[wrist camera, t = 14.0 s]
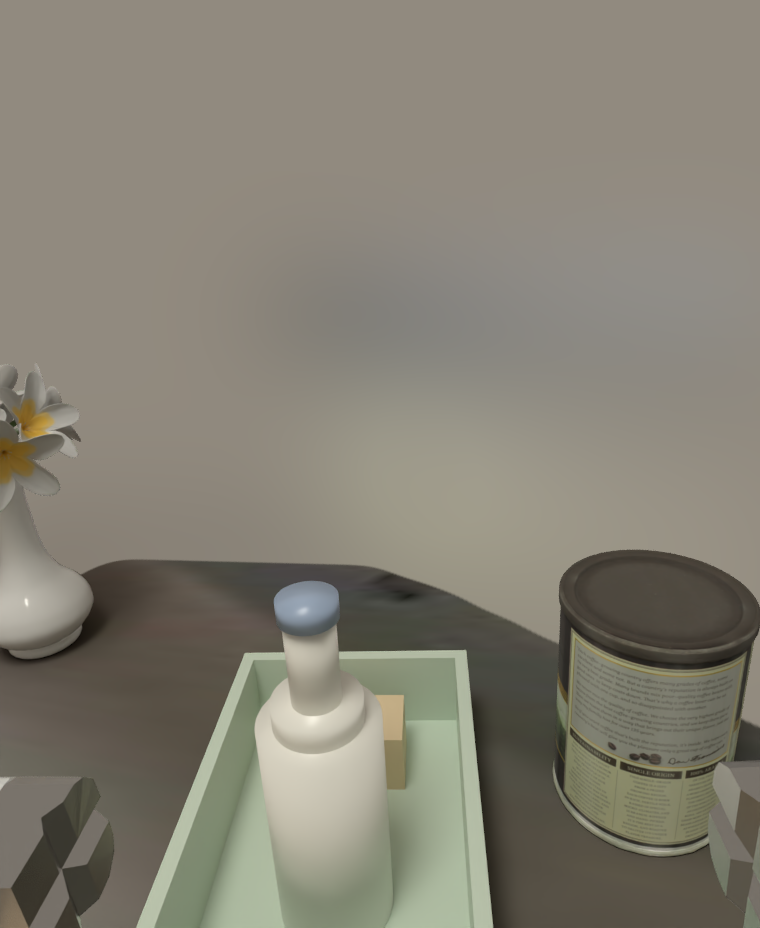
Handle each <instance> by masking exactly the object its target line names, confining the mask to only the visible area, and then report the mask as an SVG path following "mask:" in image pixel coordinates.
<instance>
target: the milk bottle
mask: <svg viewBox="0 0 760 928" xmlns="http://www.w3.org/2000/svg"><path fill="white" fill-rule="evenodd" d="M274 607H275V615H276V623H277V626H278V627H279V629H280V630H281V631H282V634H283V642H284V651H285V659H286V667H287V675H288V678H286V679H285V680H283V681H282V682H281V683H280V684H279V685H278V686H277V687H276V688H275V689H274V691H273V693H272V694H271V697H270V699H269V700H268V701H267V702H266V703H265V704H264V705H263V706H262V708H261V710H260V711H259V713H258V715H257V718H256V721H255V729H254V731H255V738H256V745H257V752H258V759H259V765H260V772H261V779H262V786H263V792H264V799H265V806H266V813H267V819H268V826H269V833H270V840H271V846H272V853H273V860H274V867H275V873H276V880H277V887H278V894H279V900H280V907H281V914H282V919H283V923H284V926H285V928H384V927H385V925H386V923H387V921H388V919H389V917H390V914H391V910H392V906H393V881H392V864H391V848H390V832H389V815H388V799H387V783H386V766H385V750H384V734H383V717H382V709H381V706H380V703H379V701H378V700H377V698H376V696H375V695H374V694H373V693H372V692H371V691H370V690H369V689H367V688H366V687H364V686H363V685H361V684H360V682H359V681H358V680H357V679H356V678H355V677H354V676H352V675H351V674H349V673H347V672H345V671H342V670H340V662H339V650H338V639H337V627H336V623H337V622H338V620H339V618H340V609H339V597H338V592H337V590H336V589H335V588H334V587H333V586H332V585H330V584H327V583H324V582H319V581H305V582H299V583H295V584H292V585H289V586H287V587H285V588H284V589H282V590H281V591H279V592H278V593H277V595H276V596H275V599H274Z"/></svg>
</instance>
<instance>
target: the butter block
mask: <svg viewBox="0 0 760 928" xmlns="http://www.w3.org/2000/svg"><path fill="white" fill-rule="evenodd" d="M375 696H376V698H377V700H378V701H379V703H380V706H381V709H382V717H383V734H384V750H385V766H386V783H387V789H392V790H405V780H406V746H407V739H406V722H405V705H404V695H375Z"/></svg>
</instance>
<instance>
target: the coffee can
mask: <svg viewBox="0 0 760 928" xmlns="http://www.w3.org/2000/svg"><path fill="white" fill-rule="evenodd" d="M559 601H560V605H561V614H560V640H559V663H558V688H557V710H556V733H555V759H554V763H553V777H554V783H555V786H556V790H557V792H558V795H559V797H560V799H561V801H562V803H563V804H564V806H565V807H566V809H567V810H568V811H569V812H570V813H571V815H572V816H573V817H574V818H575V819H576V820H577V821H578V822H579V823H580V824H581V825H582V826H583V827H585V828H586V829H587V830H589V831H590V832H591V833H593V834H594V835H596V836H597V837H599V838H601V839H602V840H604V841H606V842H608V843H610V844H612V845H614V846H616V847H618V848H621V849H623V850H627V851H632V852H635V853H638V854H642V855H648V856H662V857H666V856H678V855H683V854H687V853H691V852H694V851H696V850H698V849H700V848H702V847H704V846H705V845H707V844H708V843H709V837H708V821H709V811H710V810H711V809H713V808H714V807H715V806H716V805H717V804H718V803H719V802H720V800H719V798H718V796H717V794H716V792H715V790H714V787H713V785H712V784H713V776H714V769H715V768H716V766H717V765H718V763H719V762H730V761H734V755H735V749H736V744H737V738H738V733H739V727H740V722H741V716H742V709H743V703H744V697H745V691H746V686H747V680H748V674H749V669H750V663H751V657H752V651H753V645H754V640H755V638H756V636H757V635H758V632H759V628H760V607H759V604H758V602H757V600H756V598H755V597H754V595H753V594H752V593H751V592H750V591H749V590H748V589H747V588H746V587H745V586H744V585H743V584H742V583H741V582H739V581H738V580H737V579H735V578H734V577H732V576H730V575H729V574H727V573H725V572H723V571H722V570H719V569H718V568H716V567H714V566H711V565H709V564H707V563H704V562H701V561H698V560H695V559H692V558H688V557H685V556H680V555H676V554H671V553H665V552H658V551H648V550H618V551H611V552H604V553H599V554H597V555H592V556H589V557H587V558H584V559H582V560H580V561H578V562H576V563H575V564H573V565H572V566H571V567H570V568H569V569H568V570H567V571H566V572H565V573H564V574H563V576H562V579H561V581H560V585H559Z"/></svg>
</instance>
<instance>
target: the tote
mask: <svg viewBox="0 0 760 928" xmlns="http://www.w3.org/2000/svg"><path fill="white" fill-rule="evenodd" d="M339 662H340V670H342V671H345V672H347V673H349V674H351V675H352V676H354V677H355V678H356V679H357V680H358V681H359V682H360V684H361V685H363V686H364V687H366V688H367V689H369V690H370V691H371V692H372V693H373V694H374V695H404V705H405V722H406V739H407V746H406V780H405V790H392V789H387V799H388V815H389V832H390V848H391V864H392V881H393V906H392V910H391V914H390V917H389V919H388V921H387V923H386V925H385V927H384V928H493V921H492V911H491V900H490V890H489V880H488V870H487V859H486V849H485V839H484V829H483V819H482V808H481V798H480V788H479V778H478V767H477V757H476V747H475V737H474V727H473V716H472V706H471V696H470V686H469V675H468V665H467V655H466V650H449V651H368V652H339ZM286 678H288V675H287V667H286V659H285V653H245V655H244V657H243V660H242V662H241V665H240V667H239V670H238V672H237V675H236V677H235V680H234V682H233V685H232V687H231V690H230V692H229V695H228V698H227V700H226V703H225V705H224V708H223V710H222V713H221V715H220V718H219V720H218V723H217V725H216V728H215V730H214V733H213V735H212V738H211V740H210V743H209V745H208V748H207V750H206V753H205V756H204V758H203V761H202V763H201V766H200V768H199V771H198V773H197V776H196V778H195V781H194V783H193V786H192V788H191V791H190V793H189V796H188V798H187V801H186V803H185V806H184V808H183V811H182V814H181V816H180V819H179V821H178V824H177V826H176V829H175V831H174V834H173V836H172V839H171V841H170V844H169V846H168V849H167V851H166V854H165V856H164V859H163V861H162V864H161V867H160V869H159V872H158V874H157V877H156V879H155V882H154V884H153V887H152V889H151V892H150V894H149V897H148V899H147V902H146V904H145V907H144V909H143V912H142V914H141V917H140V919H139V922H138V925H137V927H136V928H285V926H284V923H283V919H282V914H281V907H280V900H279V894H278V887H277V880H276V873H275V867H274V860H273V853H272V846H271V840H270V833H269V826H268V819H267V813H266V806H265V799H264V792H263V786H262V779H261V772H260V765H259V759H258V752H257V745H256V738H255V731H254V729H255V721H256V718H257V715H258V713H259V711H260V710H261V708H262V706H263V705H264V704H265V703H266V702H267V701H268V700H269V699H270V697H271V694H272V693H273V691H274V689H275V688H276V687H277V686H278V685H279V684H280V683H281V682H282V681H283V680H285V679H286Z"/></svg>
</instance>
